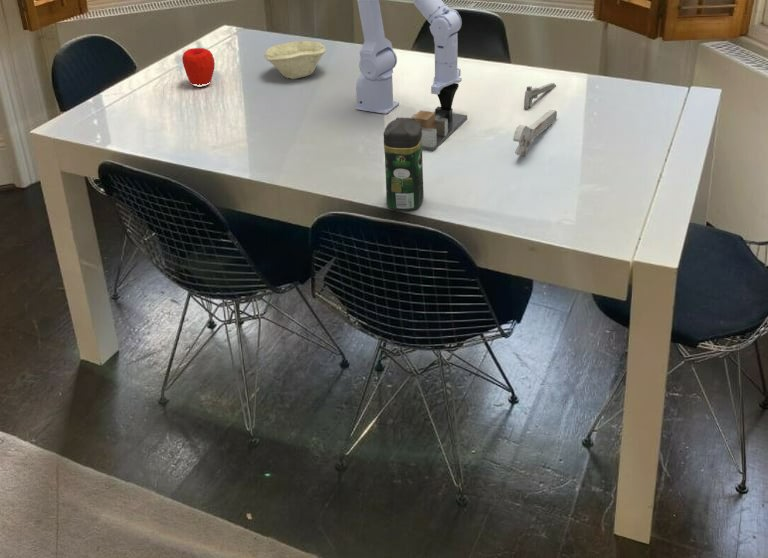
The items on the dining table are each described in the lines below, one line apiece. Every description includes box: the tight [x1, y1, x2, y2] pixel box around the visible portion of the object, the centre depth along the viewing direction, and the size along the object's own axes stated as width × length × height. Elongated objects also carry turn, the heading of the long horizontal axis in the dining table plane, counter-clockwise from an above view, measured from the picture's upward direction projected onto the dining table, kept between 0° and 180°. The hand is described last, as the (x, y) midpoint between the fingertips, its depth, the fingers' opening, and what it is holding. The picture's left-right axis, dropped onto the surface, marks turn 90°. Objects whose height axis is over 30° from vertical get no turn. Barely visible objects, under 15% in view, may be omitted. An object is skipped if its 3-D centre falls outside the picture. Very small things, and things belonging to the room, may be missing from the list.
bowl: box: [263, 40, 327, 80], centre depth 273 cm, size 14×18×15 cm
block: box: [411, 110, 435, 129], centre depth 229 cm, size 4×5×6 cm
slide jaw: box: [411, 106, 453, 136], centre depth 235 cm, size 9×11×4 cm
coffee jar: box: [383, 117, 425, 212], centre depth 199 cm, size 10×8×19 cm
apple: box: [181, 47, 216, 85], centre depth 269 cm, size 9×9×11 cm
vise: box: [422, 111, 468, 152], centre depth 235 cm, size 9×22×5 cm, turn 154°
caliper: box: [523, 82, 557, 111], centre depth 252 cm, size 20×1×6 cm, turn 149°
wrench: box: [512, 109, 558, 156], centre depth 228 cm, size 8×2×30 cm
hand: (446, 111), depth 240 cm, fingers closed
